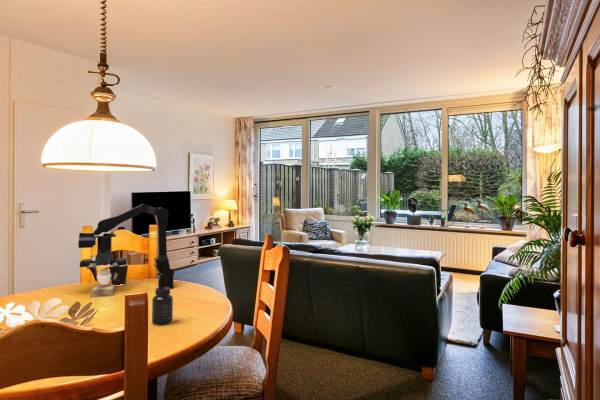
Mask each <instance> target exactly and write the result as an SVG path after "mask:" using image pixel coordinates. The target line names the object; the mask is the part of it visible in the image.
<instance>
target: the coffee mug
mask: <svg viewBox="0 0 600 400" xmlns="http://www.w3.org/2000/svg"><path fill="white" fill-rule="evenodd" d="M112 267H113V264H109V265H108V266H107V267H105V268H104V269H108V270H109V272H110V274H111V275H112ZM128 268H129V264H128V263H127V264H126V265H121V266H120V267H118V268H117V270H116V272H115V275H114V278H113V280H112V281H111V280H110V282H111V283H110V285H111V284H112V285H120V284H125V283H126V282H127V276H128ZM125 285H126V284H125Z"/></svg>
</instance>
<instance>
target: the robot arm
mask: <svg viewBox="0 0 600 400" xmlns="http://www.w3.org/2000/svg"><path fill="white" fill-rule="evenodd" d="M143 213H146V214H150V215H153V216H154V218H155V222H156V226H157V228H156V229H157V233H156V234H157V256H156V257H154V258H153V260H154V264H153V267H154V268H155V270H156V271H157V272H158V273H160V275H159V278H158V286H157V288H159V287H169V288H170V289H174V287H175V286H174V275H175V271H174V269H172V268H171V265H170V261H169V260H170V259H169V257H168V254H167V250H168V249H167V224H168V220H169V210H168V209H167V208H165V207H155V206H151V205H148V204H146V203H141V204H139V205H138V206H136V207H133V208H131V209H129V210H127V211H125V212H123V213H119V215H115V216H112V217H107V218H104V219H101V220H99V221H98V223H97V227H96V229H95V230H94V231H93V232H79V233H78V234H79V235H78V246H77V248H78V249H90V248H92V249H93V247H94V246H96V248H97V249H96V255H95V259H94V260H93V259H92V258H83V259H82V260H80V261H79V268H86V269H87V270H89V271H90V272H91V274H92V275H93V278H94V281H95V282H96V283H97V282H98V280H97V275H98V271H97V266H98V267H100V266H109V265H113V267H112V276H111V279H110V282H111V281H112V280H113V278H114V275H115V272H116V270H117V268H118V267H120V266H121V265H126V264H128V258H127V257H126V256H125V257H117V258H116V259H114V254H113V253H112V246H113V245H112V242H113V241H112V240H113V239H112V238H116V237H117V235H116V234H115V233H114V232H113V231H112V230H114V229H115V228H116V227H117V226H119V225H120V224H121V223H124V222H126V221H128V220H131V219H132V218H135V217H137V216H139V215H141V214H143ZM110 231H111V232H110ZM109 232H110V233H109ZM101 234H102V235H101Z"/></svg>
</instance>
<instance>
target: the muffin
mask: <svg viewBox="0 0 600 400" xmlns="http://www.w3.org/2000/svg"><path fill="white" fill-rule="evenodd" d="M111 276H112V275H111V274H110V269H108V268H107V269H105V268H103V269H100V270H99V272H98V273H97V282H98V283H99V284H100V285H109V282H111Z"/></svg>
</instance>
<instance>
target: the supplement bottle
mask: <svg viewBox="0 0 600 400" xmlns="http://www.w3.org/2000/svg"><path fill="white" fill-rule="evenodd" d="M154 291H155V292H154V293H155V295H154V296H153V298H152V300H151V323H152V325H155V326H166V325H169V324H170V323H172V322H173V319H174V318H173V317H174V315H173V313H174V311H173V309H174V304H173V303H174V299H173V296H172V295H171V288H169V287H156V288H155V290H154Z"/></svg>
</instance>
